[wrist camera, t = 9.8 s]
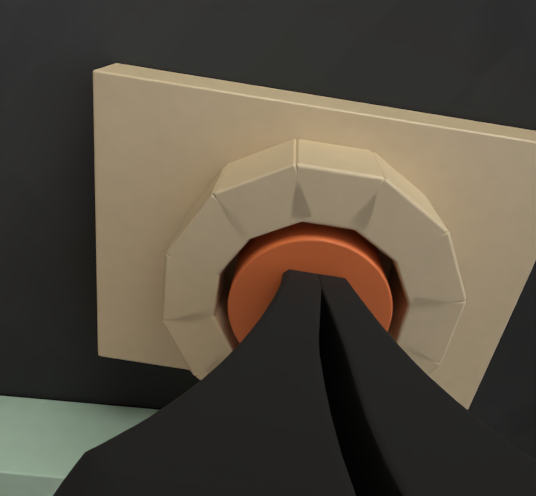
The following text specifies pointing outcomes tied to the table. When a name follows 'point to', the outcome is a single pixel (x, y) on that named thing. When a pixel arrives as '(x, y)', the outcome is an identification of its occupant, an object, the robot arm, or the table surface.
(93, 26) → the table surface
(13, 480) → the block
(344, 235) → the button
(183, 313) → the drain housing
